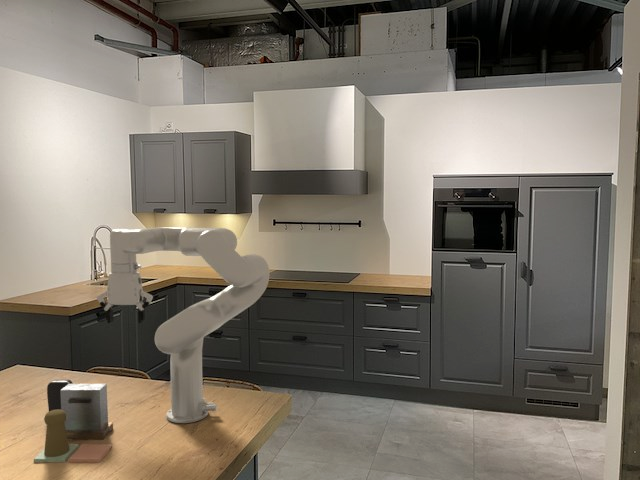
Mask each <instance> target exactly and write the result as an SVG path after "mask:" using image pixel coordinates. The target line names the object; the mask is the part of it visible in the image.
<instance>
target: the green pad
mask: <svg viewBox="0 0 640 480" xmlns="http://www.w3.org/2000/svg"><path fill="white" fill-rule="evenodd" d="M79 447H80V445H79V444H69V451H68V452H67V453H66V454H64V455H61V456H57V457H47V456H45V455H44V450H45V448H44V449H43V450H42V451H40V452H39V454H37V455H36V456H35V457H33V463H57V462H58V463H66V462H67V460H69V458H70V457H71V456H72V455H73V454H74V453H75V452H76V451H77V450H78V448H79Z"/></svg>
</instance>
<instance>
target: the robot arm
mask: <svg viewBox="0 0 640 480" xmlns="http://www.w3.org/2000/svg"><path fill="white" fill-rule="evenodd" d="M109 244H110V245H109V248H110V250H109V251H110V272H109V274H108V277H107V278H108V279H107V289H106V290H107V291H105V292H103V293H101V294H100V295H97V296H96V300H97V301H98V303H99V305H100V306H101V308H102V309H103V310H104V311H105V320H106V322H107V324H111V323H113V322H114V309H113V308H112V307H113V306H131V305H132V306H133V305H134V306H135V307H136V308H138V311H137V320H138V321H137V323H138V324H142V323H143V322H144V321H145V320H146V310H145V309H147V307H148V306H149V305H151V302H152V300H153V298H154V296H153V295H152V294H151V293H149V292H146V291H144V290H143V283H142V282H143V281H142V277H141V273H140V271H138V270H141V269H142V265H141V264H138V262H137V255H144V254H148V253H153V252H154V253H155V252H163V251H165V252H181V254H182V255H183V256H191V257H201V258H202V259H203V260H204V261H205V262H206V263H207V264H208V266H210V267H211V268H212V269H213V270H214V272H215V273H217V274H218V276H219V277H221V278H222V279H223V280H224V281H225V282H226V283H227V284H229V286H227V287H225V288H224V289H223V290H221V291H220V292H218V293H216V294H215V295H213V296H212V297H209V298H206V299H203V300H201V301H199V302H196V303H194V304H192V305H190V306H188V307H187V308H185V309H183V310H182V311H180V312H179V313H177V314H175V315H174V316H172V317H171V318H169V319H168V320H166V321H164V322H163V323H162V324H160V325H159V326H158V327H157V329H156V331H155V334H154V345H155V346H156V348H157V349H158V351H160V352H161V353H163V354H167V355H170V358H169V359H170V363H169V364H170V366H169V367H170V369H169V370H170V403H171V404H170V405H171V408H170V409H168V410H167V412H166V415H165V417H166V419H167V420H168V421H169V422H171V423H175V424H189V423H190V424H191V423H194V422H199V421H201V420H203V419H205V418H207V416H208V415H209V411H210V412H217V410H218V406H217V404H215V402H212V401H211V402H208V401H206V397H203V386H204V385H203V345H204V337H206V336H208V335H209V334H211V333H213V332H214V331H216V330H218V329H219V328H220V327H222V326H223V325H224V324H226V323H228V321H230V320H232V319H233V318H235V317H236V316H238V315H239V314H241V313H243V312H244V311H245V310H246V309H248V308H249V307H252V305H254V304H255V303H256V302H257V301H258V300H260V298H261V297H262V295H263V294H264V292H265V291H266V289H267V287H268V284H269V282H270V281H269V280H270V268H269V264H268V261H267V260H266V259H265V258H264V257H263V256H261V255H258V254H254V253H252V254H246V255H240V253H238V252H237V251H236V249H237V246H238V239H237V236H236V234H235V233H234V232H233V230H231V229H228V228H225V227H148V228H147V227H146V228H140V229H130V228H116V229H112V230H111V231H110V232H109ZM105 297H106V298H107V299H106V300H105V299H104V298H105ZM144 298H145V299H146V300H145V302H143V300H144Z"/></svg>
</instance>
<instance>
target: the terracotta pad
mask: <svg viewBox="0 0 640 480" xmlns="http://www.w3.org/2000/svg"><path fill="white" fill-rule="evenodd" d="M112 446H113V445H112V444H111V443H109V444H106V443H105V444H102V443H101V444H97V443H96V444H89V443H88V444H81V445H79V448H78V449H77V450H76V451H75V452H74V453H73V454H72V455H71V456H70V457H69V458H68V463H87V462H88V463H94V462H95V463H100V462H101V461H102V460H103V458H105V457H106V455H107V454H108V452H109V451H110V450H111V449H112Z"/></svg>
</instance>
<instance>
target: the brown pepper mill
mask: <svg viewBox="0 0 640 480" xmlns="http://www.w3.org/2000/svg"><path fill="white" fill-rule="evenodd" d="M43 420H44V423H45V425H46V433H45V442H44V449H45V450H44V449H43V450H44V455H45V456H47V457H57V456H61V455H64V454H66V453H67V452H68V451H69V445H70V444H69V440H68V439H67V434H66V429H65V424H64V422H65V420H66V413H65V411H64V410H60V409H57V410H52V411H49V410H48V411H47V412H46V414H44V418H43Z"/></svg>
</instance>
